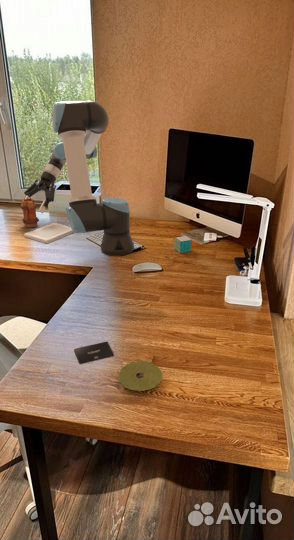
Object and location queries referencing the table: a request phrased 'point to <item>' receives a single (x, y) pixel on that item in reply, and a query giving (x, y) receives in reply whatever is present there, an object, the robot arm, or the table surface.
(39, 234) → the cream rectangular slab
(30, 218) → the orange brown figurine
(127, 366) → the olive green disc
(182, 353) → the table surface
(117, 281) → the table surface
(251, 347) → the table surface
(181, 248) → the puzzle toy
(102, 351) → the solid state drive
